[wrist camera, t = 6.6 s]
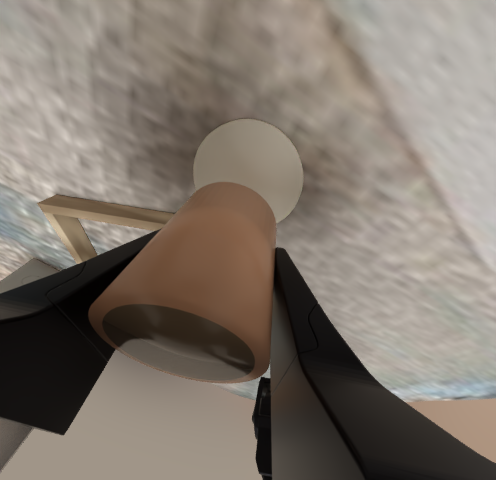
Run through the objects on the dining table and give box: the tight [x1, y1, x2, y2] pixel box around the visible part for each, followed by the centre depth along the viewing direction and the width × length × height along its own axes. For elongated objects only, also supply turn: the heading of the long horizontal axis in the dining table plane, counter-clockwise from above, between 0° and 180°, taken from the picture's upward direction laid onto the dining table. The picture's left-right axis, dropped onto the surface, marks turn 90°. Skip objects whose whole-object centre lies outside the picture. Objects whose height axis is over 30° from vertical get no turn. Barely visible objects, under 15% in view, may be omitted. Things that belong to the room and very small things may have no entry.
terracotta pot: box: [88, 182, 277, 383], centre depth 8 cm, size 5×5×6 cm
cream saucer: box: [193, 119, 303, 224], centre depth 16 cm, size 9×9×1 cm
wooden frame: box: [37, 195, 174, 264], centre depth 23 cm, size 14×18×2 cm
